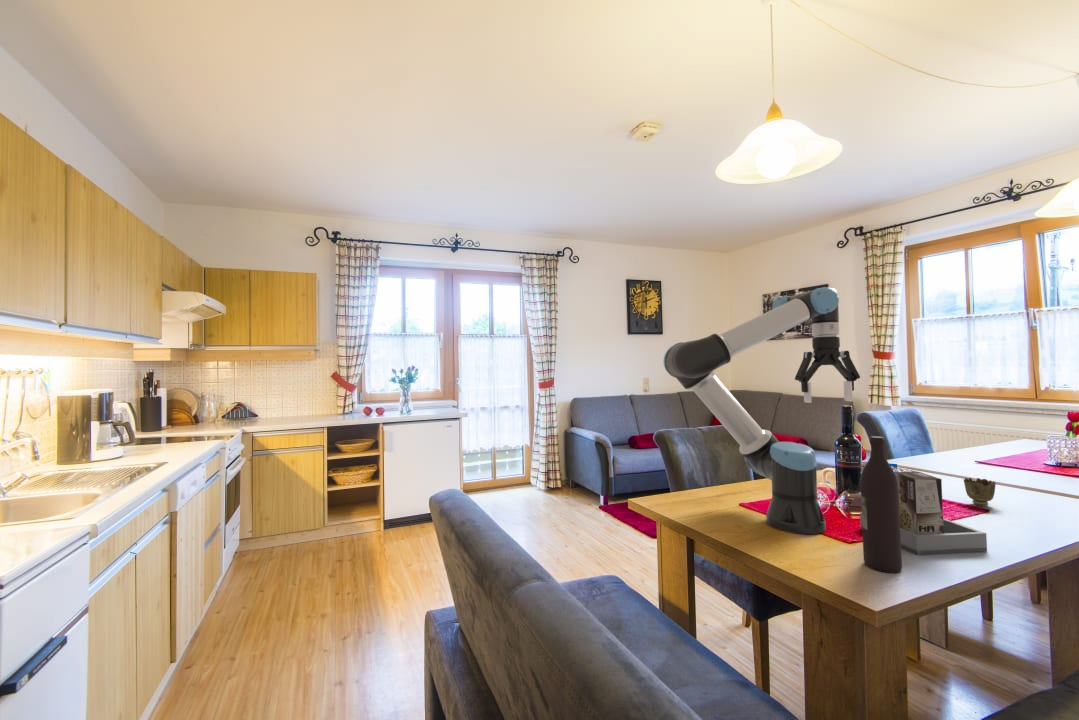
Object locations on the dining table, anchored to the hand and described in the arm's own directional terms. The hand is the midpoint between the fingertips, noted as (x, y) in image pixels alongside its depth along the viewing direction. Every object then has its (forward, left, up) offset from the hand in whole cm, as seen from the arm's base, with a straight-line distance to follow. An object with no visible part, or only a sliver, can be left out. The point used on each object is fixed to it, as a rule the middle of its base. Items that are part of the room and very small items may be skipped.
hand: (828, 402), depth 145 cm
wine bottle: (-17, -40, -35) cm, 56 cm away
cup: (+48, -2, -35) cm, 59 cm away
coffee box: (+5, -26, -34) cm, 43 cm away
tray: (+5, -26, -35) cm, 44 cm away
